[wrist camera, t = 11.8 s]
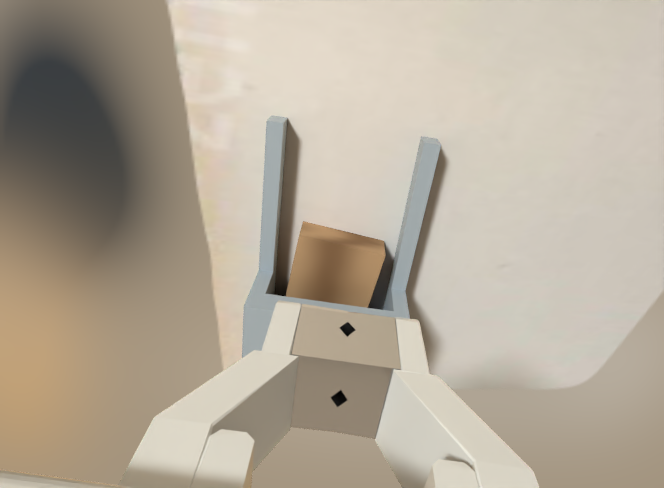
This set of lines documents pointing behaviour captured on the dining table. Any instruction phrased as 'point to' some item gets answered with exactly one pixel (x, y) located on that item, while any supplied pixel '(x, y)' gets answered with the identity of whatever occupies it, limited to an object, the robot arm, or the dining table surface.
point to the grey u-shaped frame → (263, 287)
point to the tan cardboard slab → (335, 266)
